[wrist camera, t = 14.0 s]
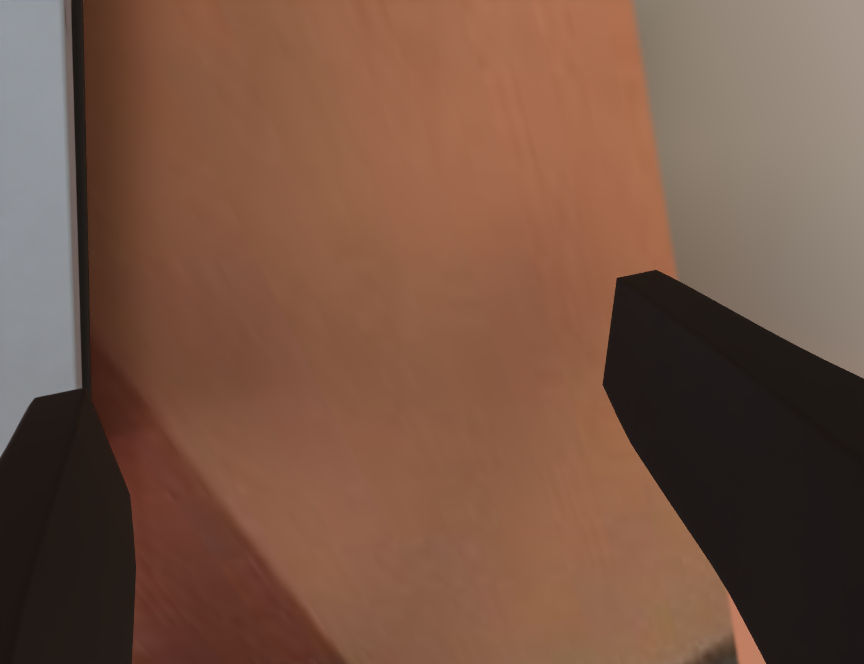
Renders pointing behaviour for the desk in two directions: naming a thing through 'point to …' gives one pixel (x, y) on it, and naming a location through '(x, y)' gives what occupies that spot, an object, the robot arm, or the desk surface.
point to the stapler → (42, 206)
